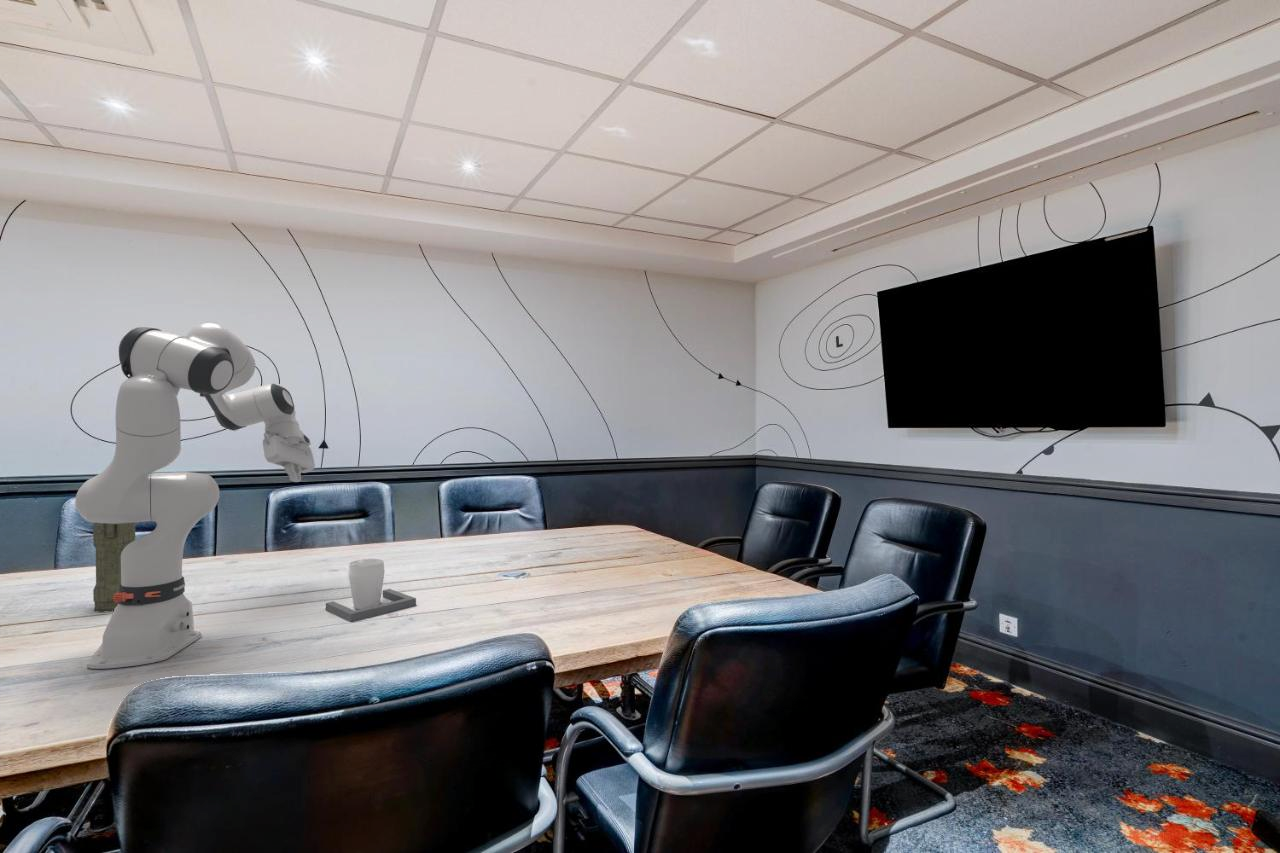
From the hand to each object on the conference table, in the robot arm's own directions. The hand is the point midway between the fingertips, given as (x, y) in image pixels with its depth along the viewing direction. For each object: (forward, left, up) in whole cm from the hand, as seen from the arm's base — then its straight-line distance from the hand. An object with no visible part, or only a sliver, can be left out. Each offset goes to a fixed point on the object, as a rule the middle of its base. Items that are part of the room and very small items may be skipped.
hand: (296, 480), depth 179 cm
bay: (-19, -21, -33) cm, 44 cm away
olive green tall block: (+5, +45, -34) cm, 56 cm away
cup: (-16, -20, -34) cm, 42 cm away
